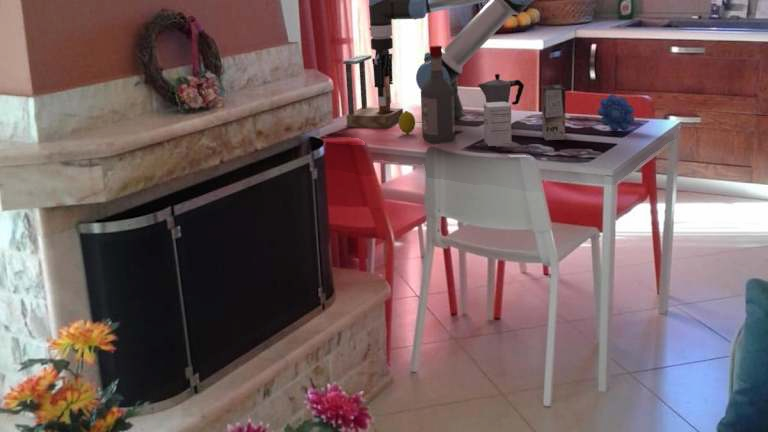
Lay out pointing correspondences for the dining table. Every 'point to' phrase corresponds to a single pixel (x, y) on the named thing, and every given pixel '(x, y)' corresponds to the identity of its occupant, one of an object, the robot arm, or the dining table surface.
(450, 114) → the liquor
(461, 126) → the dining table surface
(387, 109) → the peg
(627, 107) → the blue flower
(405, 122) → the lemon
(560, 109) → the coffee box
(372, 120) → the socket awning
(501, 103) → the supplement box
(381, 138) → the dining table surface
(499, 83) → the coffeepot
